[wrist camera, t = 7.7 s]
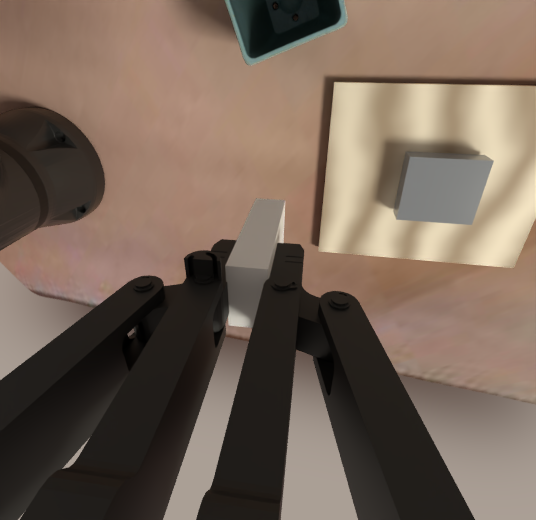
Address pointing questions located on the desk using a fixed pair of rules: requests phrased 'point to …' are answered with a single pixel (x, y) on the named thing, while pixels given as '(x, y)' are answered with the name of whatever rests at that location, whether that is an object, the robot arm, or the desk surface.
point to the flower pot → (282, 24)
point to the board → (437, 141)
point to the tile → (441, 187)
